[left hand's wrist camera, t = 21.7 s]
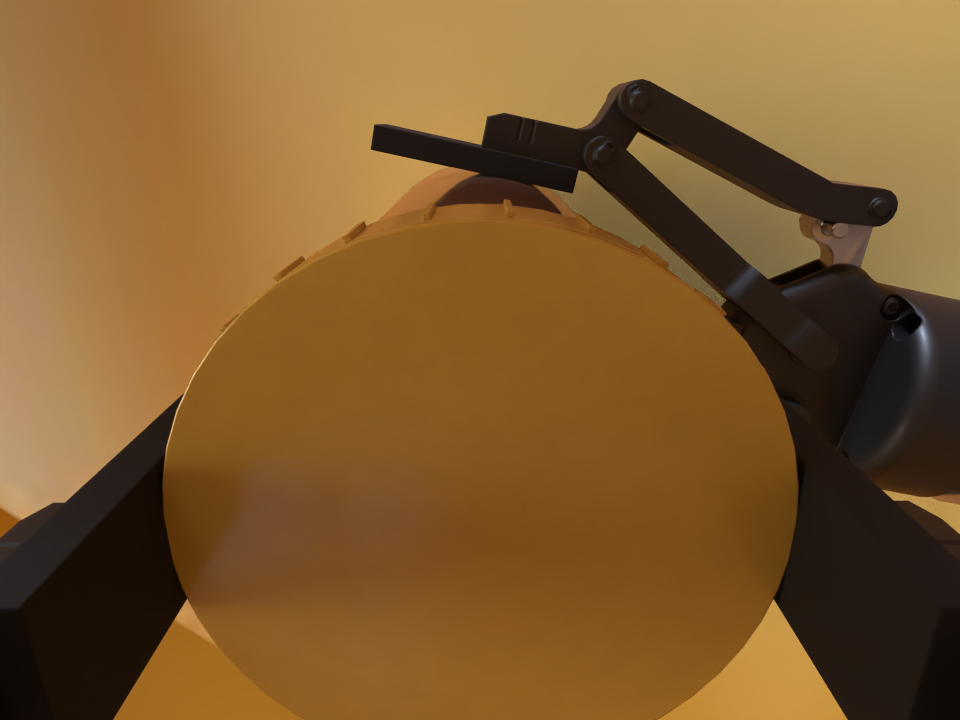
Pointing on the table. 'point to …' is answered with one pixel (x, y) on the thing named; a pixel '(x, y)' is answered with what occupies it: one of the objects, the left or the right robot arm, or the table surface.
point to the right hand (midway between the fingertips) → (357, 282)
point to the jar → (476, 193)
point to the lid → (480, 477)
